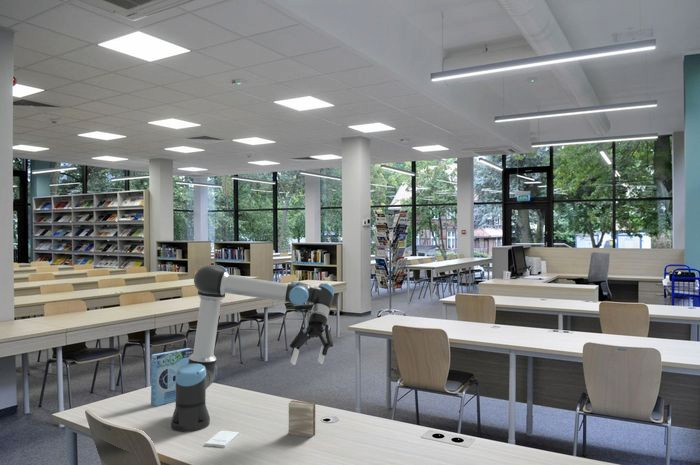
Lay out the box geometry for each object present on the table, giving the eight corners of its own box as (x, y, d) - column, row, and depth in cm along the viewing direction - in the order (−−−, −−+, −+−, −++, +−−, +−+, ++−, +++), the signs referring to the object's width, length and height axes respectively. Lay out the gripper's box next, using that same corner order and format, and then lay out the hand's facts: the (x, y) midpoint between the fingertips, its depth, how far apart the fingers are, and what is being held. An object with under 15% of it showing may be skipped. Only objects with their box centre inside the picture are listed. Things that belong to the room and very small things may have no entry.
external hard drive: (239, 436, 191) (225, 449, 179) (219, 434, 192) (204, 447, 180) (239, 432, 191) (225, 444, 179) (219, 430, 193) (204, 442, 180)
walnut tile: (312, 437, 188) (312, 405, 189) (288, 433, 192) (288, 402, 192) (315, 434, 191) (315, 403, 192) (292, 430, 195) (292, 400, 195)
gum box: (156, 407, 223) (156, 356, 224) (150, 404, 226) (150, 354, 227) (193, 396, 238) (194, 349, 239) (187, 394, 241) (187, 347, 242)
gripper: (348, 319, 206) (336, 366, 194) (300, 323, 219) (286, 368, 206) (339, 309, 202) (327, 357, 189) (290, 314, 214) (276, 360, 201)
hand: (306, 363), depth 197 cm, fingers open, 13 cm apart
